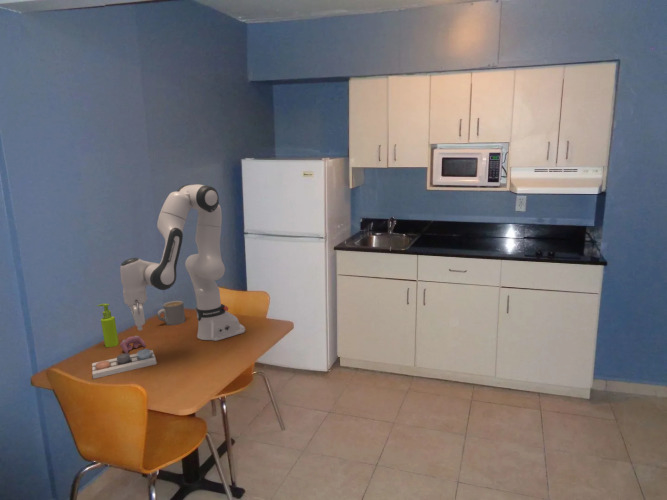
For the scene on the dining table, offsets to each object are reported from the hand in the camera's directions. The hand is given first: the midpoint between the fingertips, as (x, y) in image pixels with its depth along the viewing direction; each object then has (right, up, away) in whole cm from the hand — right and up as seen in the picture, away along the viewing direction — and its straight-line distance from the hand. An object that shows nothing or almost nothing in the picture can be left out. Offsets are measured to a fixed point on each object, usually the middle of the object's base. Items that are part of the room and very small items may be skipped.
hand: (139, 329), depth 203 cm
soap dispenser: (-23, -11, +24) cm, 35 cm away
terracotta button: (-13, -16, -4) cm, 21 cm away
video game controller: (-10, -12, +17) cm, 23 cm away
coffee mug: (-3, -5, +50) cm, 51 cm away
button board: (-6, -15, 0) cm, 16 cm away
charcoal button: (-6, -14, -1) cm, 15 cm away
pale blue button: (+1, -13, +3) cm, 13 cm away
